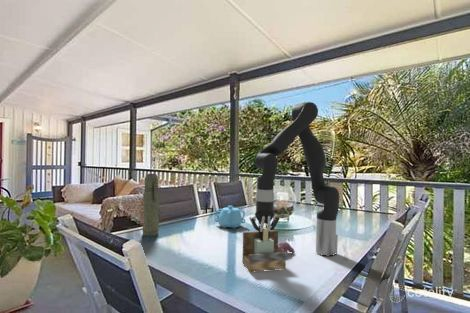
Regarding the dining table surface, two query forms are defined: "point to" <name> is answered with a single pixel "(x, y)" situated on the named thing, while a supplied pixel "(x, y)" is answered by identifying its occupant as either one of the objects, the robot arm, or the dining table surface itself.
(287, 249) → the video game controller
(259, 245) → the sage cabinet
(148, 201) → the thermos
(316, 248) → the robot arm
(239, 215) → the decorative pot
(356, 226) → the dining table surface
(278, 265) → the wall board ledge
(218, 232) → the dining table surface
